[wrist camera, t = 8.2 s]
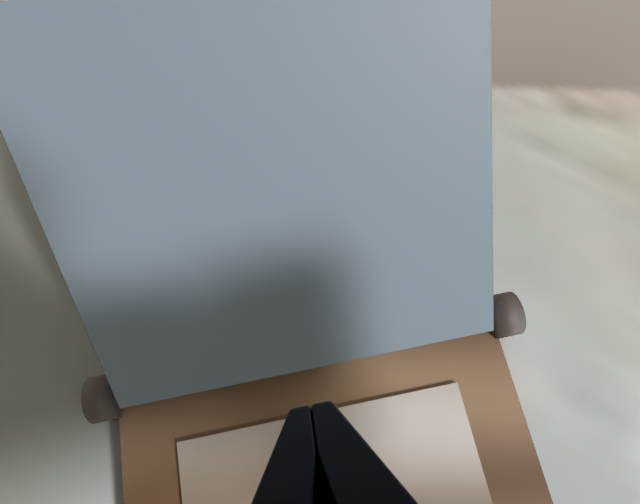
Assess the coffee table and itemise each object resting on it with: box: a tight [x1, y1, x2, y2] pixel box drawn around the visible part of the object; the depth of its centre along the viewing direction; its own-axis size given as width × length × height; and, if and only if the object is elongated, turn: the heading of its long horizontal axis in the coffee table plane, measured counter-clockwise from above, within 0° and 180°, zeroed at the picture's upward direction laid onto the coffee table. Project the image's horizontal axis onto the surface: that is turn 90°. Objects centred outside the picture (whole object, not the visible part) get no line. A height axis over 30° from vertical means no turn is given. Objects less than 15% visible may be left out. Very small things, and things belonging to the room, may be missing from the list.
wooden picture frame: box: [81, 292, 553, 504], centre depth 16 cm, size 10×16×2 cm, turn 101°
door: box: [0, 0, 494, 409], centre depth 15 cm, size 2×13×12 cm
